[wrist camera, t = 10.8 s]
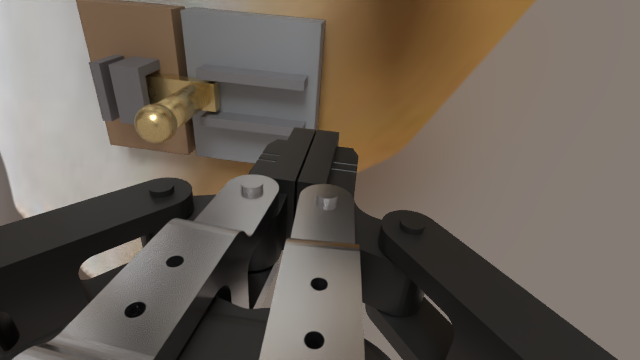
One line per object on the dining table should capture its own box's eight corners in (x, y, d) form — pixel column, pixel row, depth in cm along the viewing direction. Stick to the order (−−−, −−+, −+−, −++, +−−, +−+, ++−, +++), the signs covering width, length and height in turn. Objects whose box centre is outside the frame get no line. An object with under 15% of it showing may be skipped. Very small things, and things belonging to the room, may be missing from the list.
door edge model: (325, 19, 37) (314, 29, 31) (315, 159, 45) (305, 188, 39) (95, -2, 39) (44, 3, 33) (125, 135, 47) (88, 159, 41)
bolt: (218, 78, 38) (165, 114, 29) (220, 109, 40) (171, 152, 31) (137, 69, 39) (60, 101, 30) (143, 100, 41) (72, 139, 31)
